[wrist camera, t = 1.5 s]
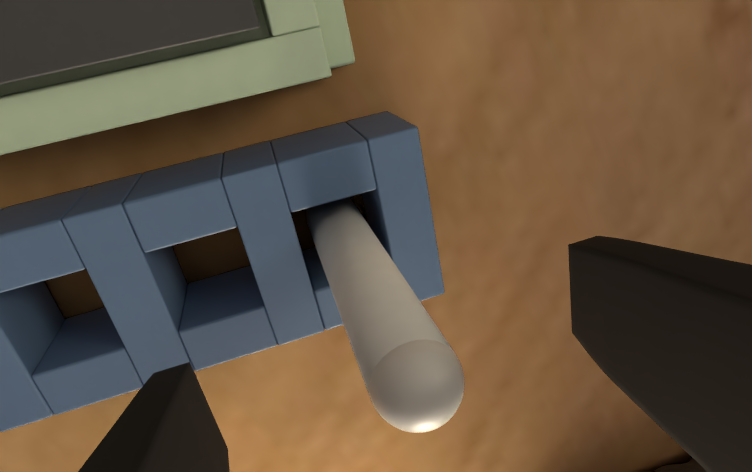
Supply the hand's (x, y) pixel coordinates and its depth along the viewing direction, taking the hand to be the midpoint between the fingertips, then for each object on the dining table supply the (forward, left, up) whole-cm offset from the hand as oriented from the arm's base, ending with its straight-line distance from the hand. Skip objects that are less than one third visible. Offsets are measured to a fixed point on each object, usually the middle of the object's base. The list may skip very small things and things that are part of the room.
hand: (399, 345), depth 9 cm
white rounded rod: (0, 0, -8) cm, 8 cm away
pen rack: (-4, 0, -8) cm, 9 cm away
